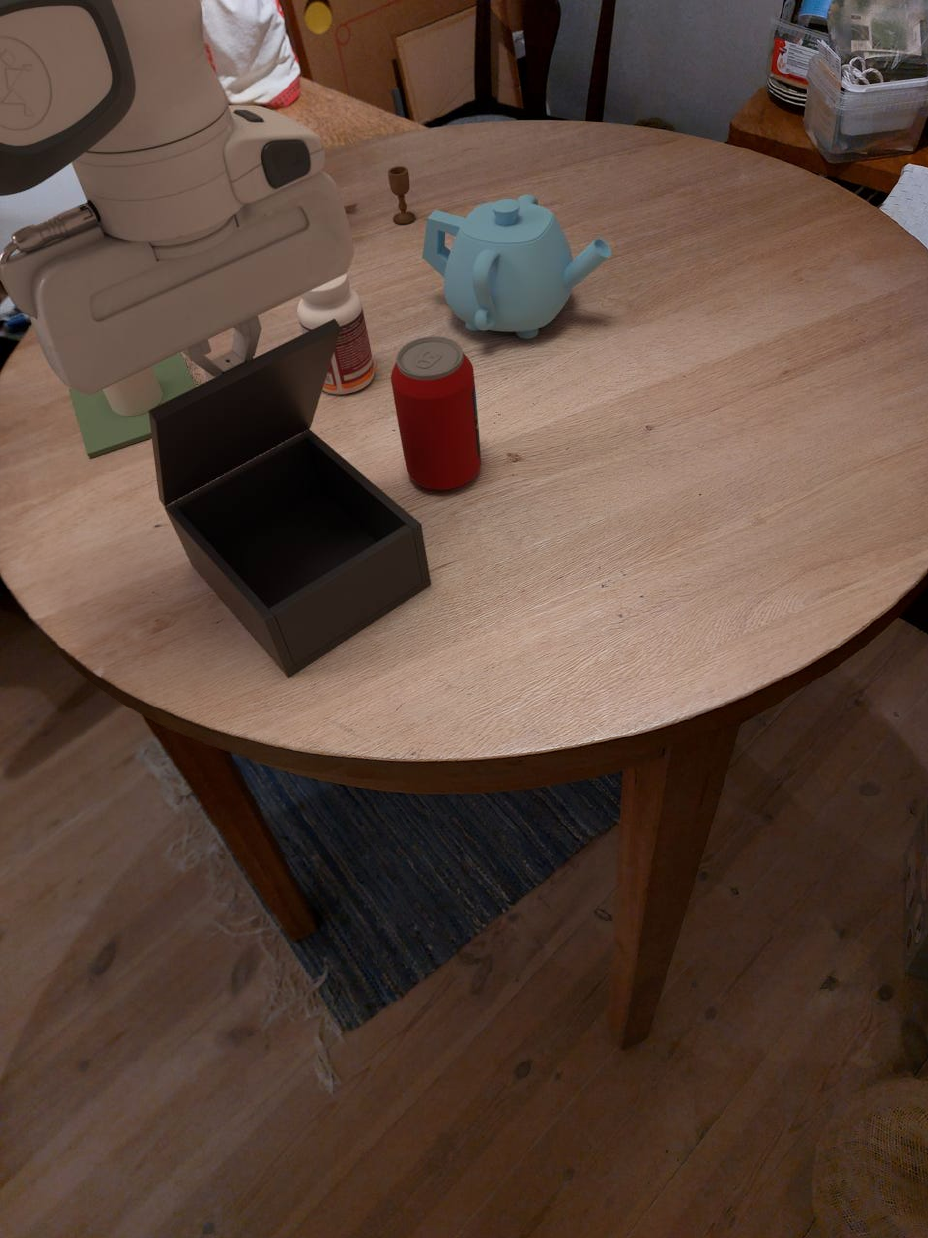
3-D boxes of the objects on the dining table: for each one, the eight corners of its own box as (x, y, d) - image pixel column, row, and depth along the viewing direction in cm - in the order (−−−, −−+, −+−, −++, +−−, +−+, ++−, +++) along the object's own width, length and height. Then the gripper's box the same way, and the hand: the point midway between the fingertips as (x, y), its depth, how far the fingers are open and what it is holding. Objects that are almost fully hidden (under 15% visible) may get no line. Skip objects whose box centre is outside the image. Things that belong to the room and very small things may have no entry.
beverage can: (496, 459, 79) (488, 343, 69) (455, 505, 75) (441, 390, 66) (434, 438, 81) (418, 323, 72) (392, 481, 78) (370, 367, 69)
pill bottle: (377, 357, 90) (358, 256, 82) (374, 394, 86) (354, 291, 78) (317, 362, 90) (292, 262, 82) (312, 399, 87) (285, 298, 78)
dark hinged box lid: (341, 328, 57) (334, 317, 57) (155, 421, 52) (147, 410, 52) (310, 428, 72) (305, 420, 72) (164, 507, 68) (158, 498, 68)
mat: (89, 458, 84) (87, 453, 83) (71, 393, 91) (68, 388, 90) (210, 418, 86) (208, 413, 86) (182, 357, 93) (180, 352, 93)
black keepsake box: (431, 584, 70) (421, 523, 64) (288, 678, 65) (264, 621, 60) (325, 489, 78) (309, 428, 73) (191, 566, 73) (163, 507, 68)
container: (119, 423, 86) (80, 343, 79) (105, 396, 89) (66, 317, 82) (170, 403, 87) (136, 323, 80) (154, 378, 90) (121, 298, 83)
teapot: (400, 344, 91) (382, 235, 82) (458, 263, 101) (448, 157, 92) (584, 373, 86) (587, 259, 76) (628, 285, 95) (635, 174, 86)
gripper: (3, 266, 43) (113, 478, 53) (345, 127, 50) (382, 339, 61) (-39, 224, 46) (73, 432, 57) (288, 100, 53) (332, 305, 64)
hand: (235, 383), depth 59 cm, fingers closed, pressing on dark hinged box lid
